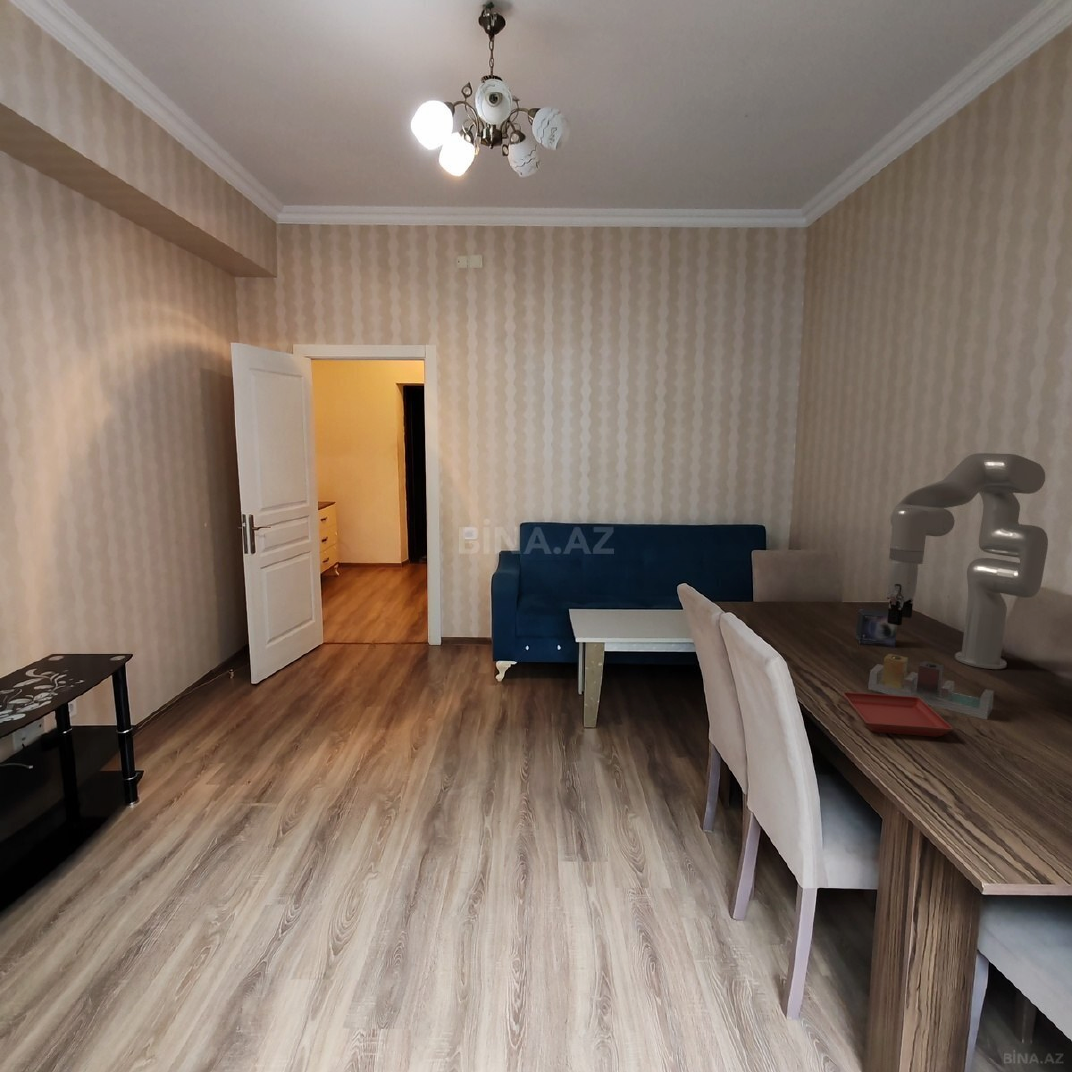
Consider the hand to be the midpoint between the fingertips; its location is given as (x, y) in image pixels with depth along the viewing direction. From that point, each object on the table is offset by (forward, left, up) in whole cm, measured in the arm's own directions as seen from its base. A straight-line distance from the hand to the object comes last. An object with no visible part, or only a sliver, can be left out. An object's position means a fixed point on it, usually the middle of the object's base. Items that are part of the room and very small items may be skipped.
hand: (899, 620), depth 161 cm
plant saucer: (+20, +5, -20) cm, 28 cm away
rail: (0, +8, -19) cm, 21 cm away
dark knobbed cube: (0, +8, -17) cm, 19 cm away
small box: (-39, -15, -20) cm, 46 cm away
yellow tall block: (0, 0, -17) cm, 17 cm away
